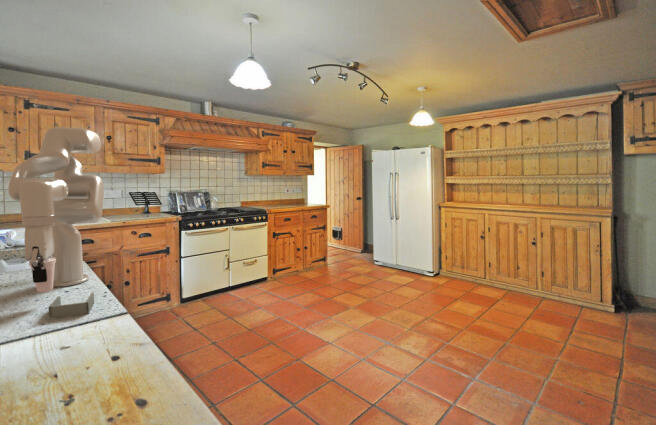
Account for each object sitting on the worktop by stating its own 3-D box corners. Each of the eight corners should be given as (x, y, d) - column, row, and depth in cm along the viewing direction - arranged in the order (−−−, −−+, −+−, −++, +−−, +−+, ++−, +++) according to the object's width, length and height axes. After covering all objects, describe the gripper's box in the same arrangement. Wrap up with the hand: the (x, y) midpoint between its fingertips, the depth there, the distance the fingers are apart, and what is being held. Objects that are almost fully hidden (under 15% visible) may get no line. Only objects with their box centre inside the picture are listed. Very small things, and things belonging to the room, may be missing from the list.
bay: (58, 307, 104) (57, 296, 104) (94, 303, 108) (93, 292, 108) (49, 319, 96) (48, 307, 96) (88, 313, 100) (87, 302, 99)
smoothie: (43, 295, 101) (38, 249, 99) (25, 292, 103) (21, 247, 100) (63, 287, 108) (60, 244, 105) (47, 285, 109) (43, 243, 107)
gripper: (33, 217, 108) (38, 271, 111) (11, 227, 93) (17, 289, 95) (62, 216, 111) (66, 268, 114) (45, 225, 96) (51, 286, 98)
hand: (44, 277), depth 105 cm, fingers closed on smoothie, 6 cm apart
